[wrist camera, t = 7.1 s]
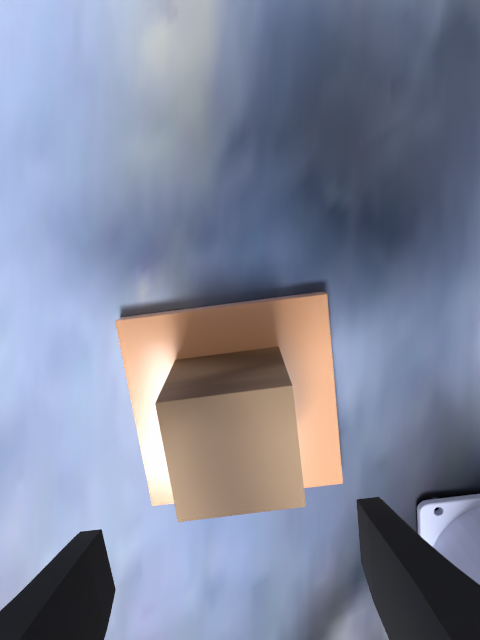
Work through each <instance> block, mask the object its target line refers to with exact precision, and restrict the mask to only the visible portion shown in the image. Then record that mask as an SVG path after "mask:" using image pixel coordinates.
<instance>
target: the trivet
mask: <svg viewBox="0 0 480 640" xmlns="http://www.w3.org/2000/svg"><path fill="white" fill-rule="evenodd" d="M115 322H116V327H117V332H118V337H119V342H120V347H121V352H122V357H123V362H124V367H125V373H126V378H127V383H128V388H129V393H130V398H131V403H132V408H133V413H134V418H135V423H136V428H137V433H138V438H139V443H140V448H141V453H142V458H143V463H144V468H145V473H146V478H147V483H148V488H149V493H150V498H151V503H152V506H157V505H165V504H173V503H174V500H173V495H172V489H171V484H170V479H169V474H168V468H167V463H166V458H165V453H164V447H163V442H162V437H161V432H160V427H159V421H158V416H157V411H156V406H155V402H156V400H157V398H158V396H159V393H160V391H161V389H162V387H163V385H164V383H165V381H166V378H167V376H168V374H169V372H170V370H171V368H172V366H173V363H174V361H175V360H178V359H186V358H193V357H201V356H209V355H216V354H224V353H232V352H239V351H247V350H255V349H263V348H270V347H278V346H279V349H280V352H281V355H282V357H283V360H284V363H285V366H286V369H287V371H288V374H289V377H290V380H291V383H292V385H293V394H294V403H295V412H296V421H297V430H298V439H299V448H300V457H301V466H302V475H303V484H304V488H309V487H317V486H325V485H334V484H342V483H343V480H342V468H341V455H340V443H339V431H338V419H337V407H336V395H335V382H334V370H333V358H332V346H331V334H330V322H329V310H328V297H327V293H325V292H324V291H323V292H315V293H307V294H299V295H291V296H283V297H276V298H268V299H260V300H252V301H244V302H236V303H229V304H221V305H213V306H205V307H197V308H189V309H182V310H174V311H166V312H158V313H150V314H142V315H135V316H127V317H120V318H118V319H117V320H116V321H115Z"/></svg>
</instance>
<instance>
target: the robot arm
mask: <svg viewBox="0 0 480 640" xmlns="http://www.w3.org/2000/svg"><path fill="white" fill-rule="evenodd" d="M437 507H440V508H439V509H438V510H436V511H434V509H435V508H437ZM357 511H358V524H359V538H360V551H361V563H362V566H363V569H364V573H365V576H366V579H367V583H368V586H369V589H370V592H371V595H372V598H373V602H374V604H375V606H376V609H377V611H378V614H379V616H380V618H381V621H382V623H383V626H384V628H385V630H386V633H387V635H388V637H389V640H480V494H474V495H465V496H457V497H448V498H439V499H431V500H425V501H422V502H421V503H419V505H418V507H417V521H418V533H416V532H415V531H414V530H413V529H412V528H411V527H410V526H409V525H408V524H407V523H406V522H405V521H404V520H402V519H401V518H400V517H399V516H398V515H397V514H396V513H395V512H394V511H393V510H392V509H391V508H390V507H389V506H388V505H387V504H386V503H385V502H384V501H383V500H382V499H380V498H379V497H375V498H366V499H358V500H357ZM114 594H115V586H114V581H113V577H112V573H111V568H110V564H109V560H108V555H107V551H106V547H105V543H104V538H103V534H102V530H101V529H100V530H92V531H83V532H80V533H79V534H77V535H76V536H75V537H74V538H73V539H72V540H71V541H70V542H69V543H68V544H67V545H66V546H65V547H64V548H63V549H62V550H61V551H60V552H59V553H58V554H57V556H56V557H55V558H54V559H53V560H52V561H51V562H50V563H49V564H48V565H47V566H46V567H45V568H44V569H43V570H42V571H41V572H40V573H39V574H38V575H37V576H36V577H35V578H34V579H33V580H32V581H31V582H30V583H29V584H28V585H27V586H26V587H25V588H24V589H23V590H22V591H21V592H20V593H19V594H18V595H17V596H16V597H15V598H14V599H13V600H12V601H11V602H9V603H8V604H7V605H6V606H5V607H4V608H3V609H2V610H1V611H0V640H104V637H105V634H106V631H107V627H108V622H109V618H110V614H111V609H112V604H113V599H114Z"/></svg>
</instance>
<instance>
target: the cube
mask: <svg viewBox="0 0 480 640" xmlns="http://www.w3.org/2000/svg"><path fill="white" fill-rule="evenodd" d="M155 406H156V411H157V416H158V421H159V427H160V432H161V437H162V442H163V447H164V453H165V458H166V463H167V468H168V474H169V479H170V484H171V489H172V495H173V500H174V505H175V510H176V515H177V521H178V522H183V521H191V520H199V519H208V518H216V517H224V516H232V515H240V514H249V513H257V512H265V511H273V510H282V509H290V508H298V507H306V502H305V493H304V484H303V475H302V466H301V457H300V448H299V439H298V430H297V421H296V412H295V403H294V394H293V385H292V383H291V380H290V377H289V374H288V371H287V369H286V366H285V363H284V360H283V357H282V355H281V352H280V349H279V346H278V347H270V348H263V349H255V350H247V351H239V352H232V353H224V354H216V355H209V356H201V357H193V358H186V359H178V360H175V361H174V363H173V366H172V368H171V370H170V372H169V374H168V376H167V378H166V381H165V383H164V385H163V387H162V389H161V391H160V393H159V396H158V398H157V400H156V402H155Z"/></svg>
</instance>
